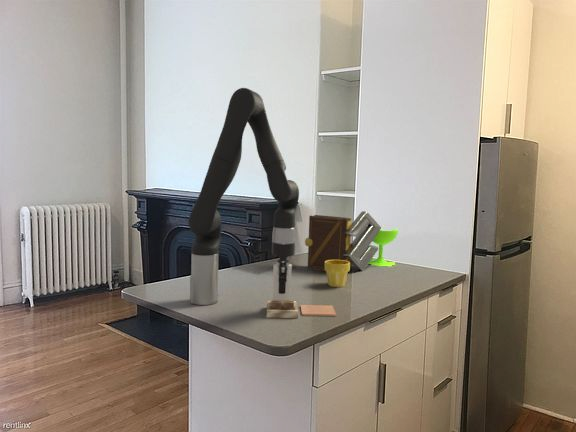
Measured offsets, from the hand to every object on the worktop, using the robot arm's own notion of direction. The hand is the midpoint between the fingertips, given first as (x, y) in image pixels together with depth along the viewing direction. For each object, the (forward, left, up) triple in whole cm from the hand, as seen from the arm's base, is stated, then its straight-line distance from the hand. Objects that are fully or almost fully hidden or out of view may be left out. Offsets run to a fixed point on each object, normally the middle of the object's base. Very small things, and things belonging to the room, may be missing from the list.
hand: (281, 292), depth 163 cm
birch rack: (0, -3, -6) cm, 7 cm away
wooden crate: (+22, +64, -6) cm, 69 cm away
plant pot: (+23, +35, -6) cm, 43 cm away
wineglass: (+51, +81, -6) cm, 96 cm away
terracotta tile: (+12, -1, -6) cm, 14 cm away
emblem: (+38, +65, -6) cm, 75 cm away
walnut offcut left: (-2, -5, -5) cm, 8 cm away
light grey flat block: (0, 0, -4) cm, 4 cm away
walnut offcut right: (+2, -5, -5) cm, 8 cm away
